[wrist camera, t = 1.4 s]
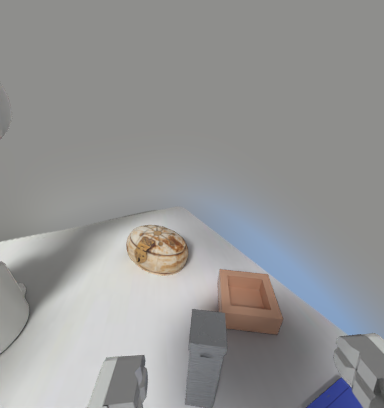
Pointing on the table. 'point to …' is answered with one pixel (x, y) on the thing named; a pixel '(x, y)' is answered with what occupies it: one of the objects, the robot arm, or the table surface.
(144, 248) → the trinket box
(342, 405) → the hard drive
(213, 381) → the grey chimney stack
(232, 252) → the table surface
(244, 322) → the holder
